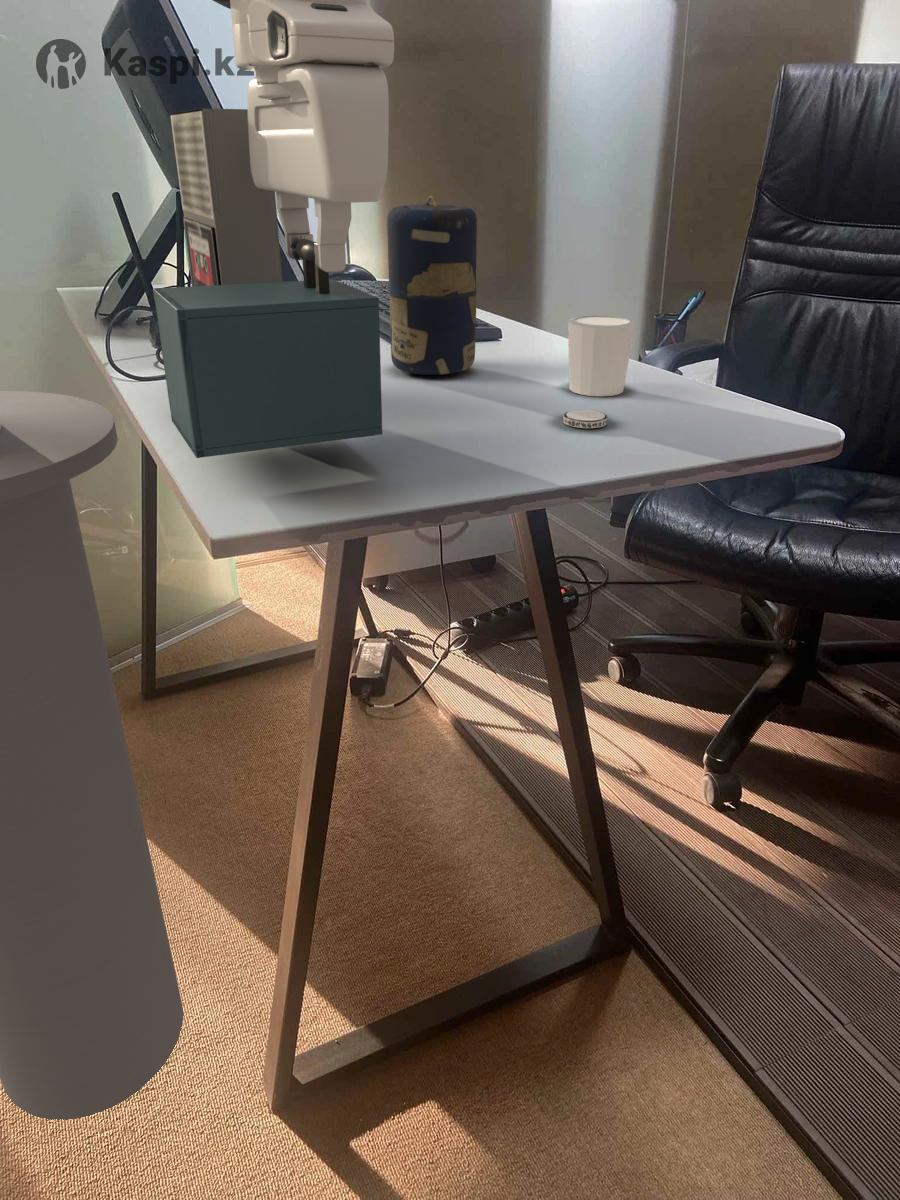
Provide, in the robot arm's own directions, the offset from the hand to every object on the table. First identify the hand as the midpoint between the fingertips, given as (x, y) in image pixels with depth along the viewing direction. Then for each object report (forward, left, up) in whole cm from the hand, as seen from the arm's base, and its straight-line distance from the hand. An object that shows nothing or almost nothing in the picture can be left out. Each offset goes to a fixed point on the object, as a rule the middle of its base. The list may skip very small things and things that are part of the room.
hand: (315, 264), depth 63 cm
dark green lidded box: (-4, 0, -12) cm, 12 cm away
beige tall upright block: (-2, +19, -15) cm, 24 cm away
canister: (+21, +25, -15) cm, 36 cm away
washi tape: (+25, 0, -15) cm, 29 cm away
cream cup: (+33, +10, -15) cm, 37 cm away
